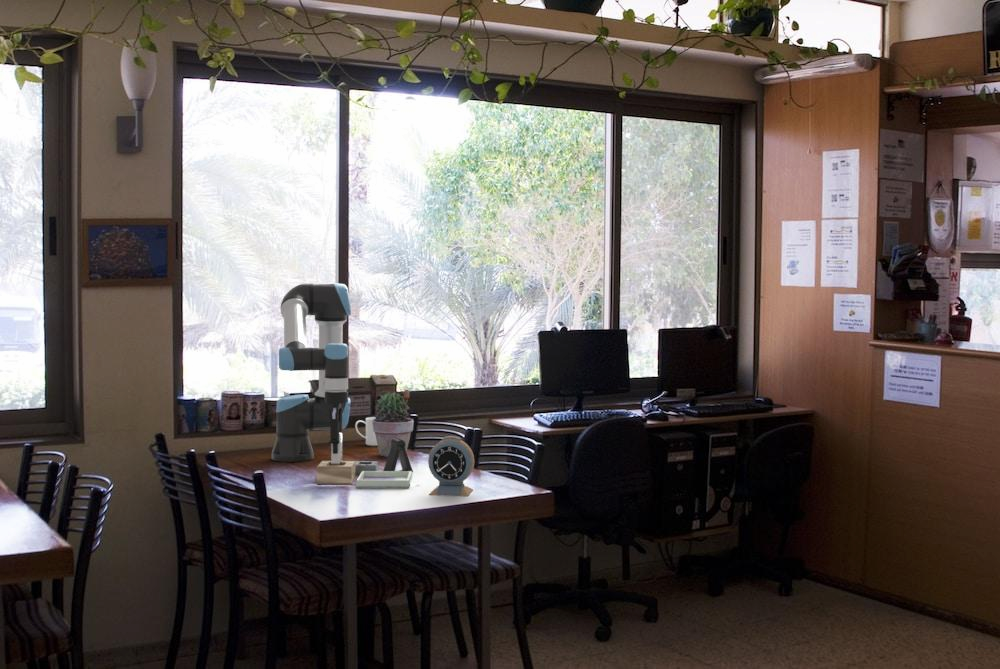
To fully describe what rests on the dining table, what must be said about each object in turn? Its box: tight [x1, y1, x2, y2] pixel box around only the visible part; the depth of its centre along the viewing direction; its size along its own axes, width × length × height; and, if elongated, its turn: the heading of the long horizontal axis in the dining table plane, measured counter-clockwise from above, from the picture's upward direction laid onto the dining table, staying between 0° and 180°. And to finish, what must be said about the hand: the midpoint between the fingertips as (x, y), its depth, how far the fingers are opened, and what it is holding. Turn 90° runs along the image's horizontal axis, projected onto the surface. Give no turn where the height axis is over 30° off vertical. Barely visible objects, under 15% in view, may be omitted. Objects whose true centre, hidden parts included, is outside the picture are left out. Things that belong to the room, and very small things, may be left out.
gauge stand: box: [354, 460, 379, 476], centre depth 373 cm, size 8×8×4 cm
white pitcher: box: [354, 416, 378, 447], centre depth 440 cm, size 12×8×10 cm, turn 110°
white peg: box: [331, 432, 343, 465], centre depth 360 cm, size 4×4×15 cm
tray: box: [356, 470, 413, 489], centre depth 359 cm, size 17×17×2 cm
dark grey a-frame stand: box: [382, 438, 414, 473], centre depth 375 cm, size 9×6×12 cm, turn 115°
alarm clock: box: [427, 435, 475, 497], centre depth 344 cm, size 14×10×18 cm
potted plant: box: [370, 389, 418, 458], centre depth 415 cm, size 18×20×25 cm
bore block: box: [316, 460, 356, 486], centre depth 360 cm, size 11×11×6 cm
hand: (336, 462), depth 360 cm, fingers closed on white peg, 3 cm apart
